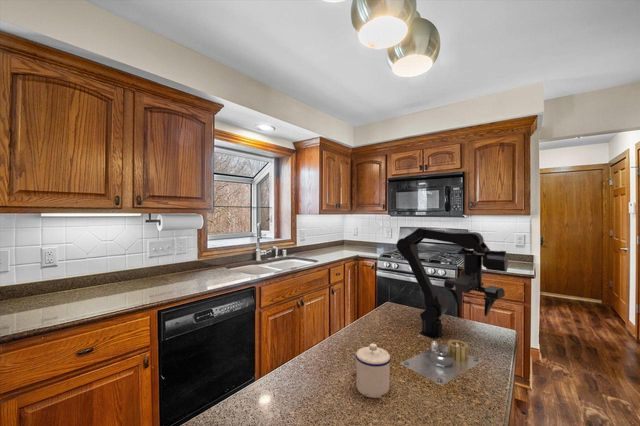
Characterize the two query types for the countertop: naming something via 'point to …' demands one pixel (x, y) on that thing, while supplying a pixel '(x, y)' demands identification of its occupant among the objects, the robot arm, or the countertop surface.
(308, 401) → the countertop surface
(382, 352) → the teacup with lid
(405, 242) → the robot arm
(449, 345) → the planet gear
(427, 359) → the carrier plate
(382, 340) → the countertop surface
